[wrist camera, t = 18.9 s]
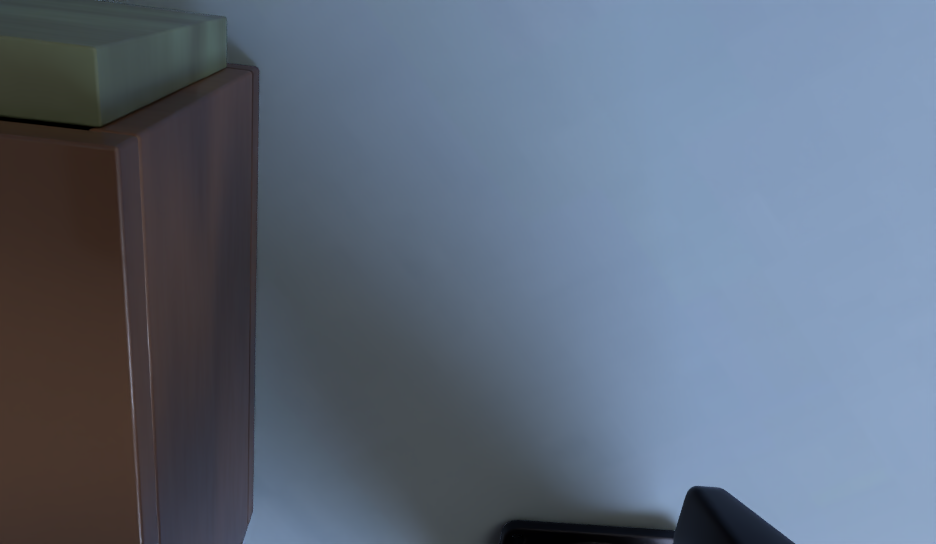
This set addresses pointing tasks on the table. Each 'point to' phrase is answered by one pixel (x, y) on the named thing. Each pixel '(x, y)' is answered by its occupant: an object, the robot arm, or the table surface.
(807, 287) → the table surface
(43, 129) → the cabinet
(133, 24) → the drawer
